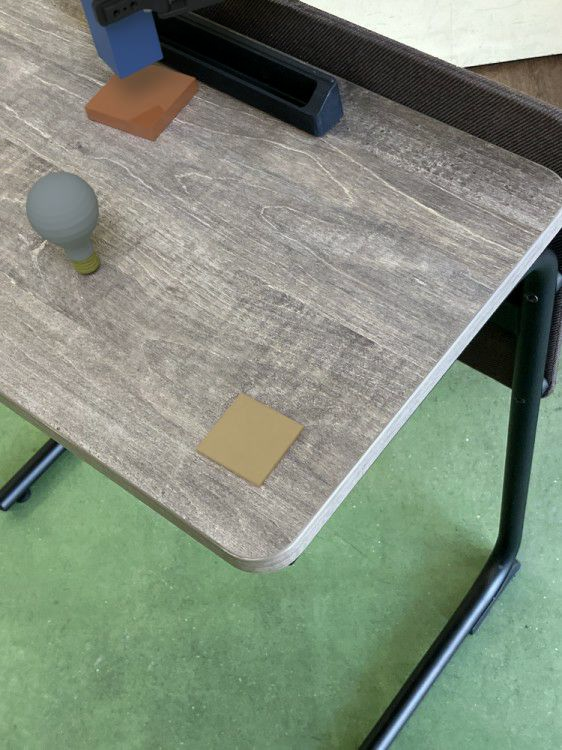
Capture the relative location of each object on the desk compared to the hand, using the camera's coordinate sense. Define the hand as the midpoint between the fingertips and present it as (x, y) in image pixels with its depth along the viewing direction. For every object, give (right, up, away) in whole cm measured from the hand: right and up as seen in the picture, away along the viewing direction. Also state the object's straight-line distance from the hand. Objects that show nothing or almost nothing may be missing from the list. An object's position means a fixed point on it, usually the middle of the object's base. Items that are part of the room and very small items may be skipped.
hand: (82, 1), depth 79 cm
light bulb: (0, -22, 0) cm, 22 cm away
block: (+3, -3, +6) cm, 8 cm away
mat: (+14, -36, -11) cm, 40 cm away
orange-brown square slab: (+3, -6, +11) cm, 13 cm away
